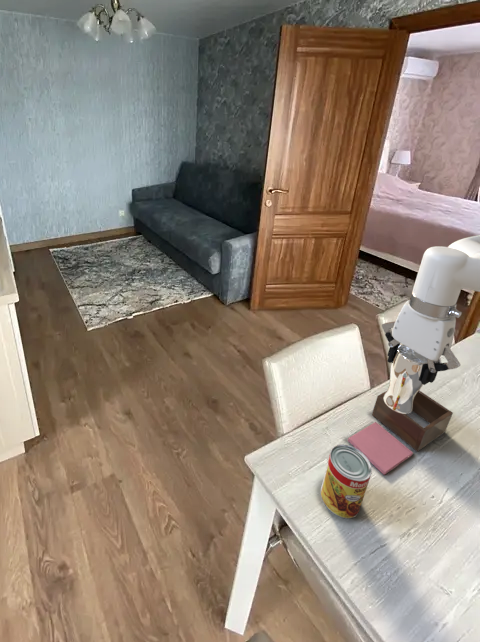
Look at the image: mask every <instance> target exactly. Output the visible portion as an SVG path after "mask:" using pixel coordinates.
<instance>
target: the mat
mask: <svg viewBox="0 0 480 642" xmlns="http://www.w3.org/2000/svg"><path fill="white" fill-rule="evenodd" d="M347 442H348V443H349V444H351V446H352V447H354V448H356V449H358V450H359V451H360V452H362V453H363V454H364V455H365V456H366V457H367V459H368V460H369V462H370V464H371V465H373V466H374V467H375V468H376V469H377V470H378V471H379V472H380V473H381V474H382V475H384V476H385V475H387V474H388V473H390V472H391V471H392V470H394V469H395V468H396V467H398V466H400V465H401V464H402V463H404V462H405V461H406V460H408V459H409V458H411V457H412V456H413V455H414V452H413V451H412V450H410V449H409V448H408V447H407V445H405V444H403V443H402V442H401V441H400V440H398V439H397V438H396V437H395V436H394V435H392V434H391V433H390V432H389V431H388V430H387V429H385V428H384V427H383V426H382V425H380V424H379V423H378V422H377V421H375V422H372V423H371V424H370V425H368V426H366V427H365V428H363V429H361V430H360V431H358V432H356V433H354V434H352V435H351V436H350V437H348V438H347Z"/></svg>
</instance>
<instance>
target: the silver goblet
mask: <svg viewBox="0 0 480 642" xmlns="http://www.w3.org/2000/svg"><path fill="white" fill-rule="evenodd" d="M427 368H429V367H428V362H427V358H426V357H424V356H422V355H420V354H419V353H417V352H415V351H413V350H412V349H410V348H408V347H407V346H405V345H403V344H400V346H399V347H398V349H397V351H396V353H395V356H394V358H393V361H392V363H391V364H390V372H389V385H388V389H387V390H386V391H387V392H386V391H385V392H386V393H385V395H384V398H383V399H384V402H385V404H386V405H387V406H388V407H389V408H391V409H392V410H394V411H396V412H398V413H402V414H406V415H409V414H410V413H412V412H413V411H412V410H413V402H414V398H415V396H416V394H417V393H418V392H419V391H421V389H422V388H423V386H424V385H423V384H422V383H421V380H422V378H423V375H424V372H425V370H426V369H427Z"/></svg>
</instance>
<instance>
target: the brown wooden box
mask: <svg viewBox="0 0 480 642" xmlns="http://www.w3.org/2000/svg"><path fill="white" fill-rule="evenodd" d="M386 392H387V390H385V391H384V392H382V393H381V394H379V395H377V397H376V399H375V403H374V406H373V410H372V412H371V416H373V418H375V419H376V420H377V421H378V422H380V423H381V424H382V425H383V426H385V427H386V428H387V429H388V430H390V431H391V432H393V434H395V435H396V436H397V437H399V438H400V439H401V440H402V441H404V442H405V443H406V444H407V445H408V446H410V447H411V448H412V449H413V450H415V451H416V452H419V451H420V450H422V449H423V448H425V447H426V446H427V445H429V444H431V443H432V442H433V441H435V440H436V439H437V438H439V437H440V436H442V435H443V434H444V433H446V431H447V428H448V426H449V423H450V421H451V419H452V417H453V414H454V412H453V411H451V410H449V409H448V408H447V407H445V406H443V405H442V404H440V403H439V402H438V401H436V400H435V399H434V398H432V397H430V396H429V395H427V394H425V393H424V392H422V391H421V390H419V392H418V393H417V394H416V396H415V398H414V402H413V410H412V412H413V413H415V414H416V415H417V416H419V417H420V418H422V419H423V420H424V421H426V422H427V423H428V425H426V426H424V427H423V426H422V425H421V424H419V423H418V422H417V421H416V420H414V419H413V418H411V417H410V416H408V414H402V413H398V412H396V411H394V410H392V409H391V408H389V407H388V406H387V405H386V404H385V402H384V399H383V398H384V395H385V393H386Z"/></svg>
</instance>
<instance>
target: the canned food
mask: <svg viewBox="0 0 480 642" xmlns="http://www.w3.org/2000/svg"><path fill="white" fill-rule="evenodd" d="M372 473H373V467H372V463H371V462H370V461H369V460H368V459H367V457H366V456H365V455H364V454H363V453H362V452H360V451H359V450H358V449H356V448H355V447H354V446H353V445H349V444H344V443H341V444H336V445H334V446H333V447H332V448H331V450H330V452H329V456H328V460H327V464H326V467H325V471H324V474H323V475H324V476H323V479H322V483H321V487H320V496H321V500H322V502H323V504H324V505H325V506H326V508H327V509H328V510H329V511H330V512H331V513H332V514H334V515H335V516H337V517H340V518H341V519H353V518H355V517H357V515H358V514H359V512H360V510H361V507H362V504H363V501H364V498H365V494H366V491H367V489H368V485H369V483H370V480H371V477H372Z"/></svg>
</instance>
